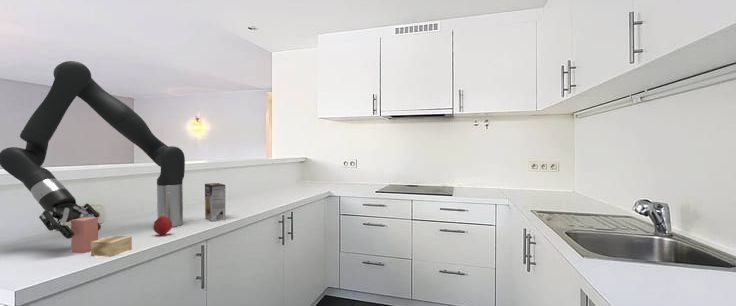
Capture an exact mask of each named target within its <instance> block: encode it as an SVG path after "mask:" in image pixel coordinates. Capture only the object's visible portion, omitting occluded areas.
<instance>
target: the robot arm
mask: <svg viewBox="0 0 736 306" xmlns="http://www.w3.org/2000/svg"><path fill="white" fill-rule="evenodd" d="M53 77H54V79H53V81H52V82H53V83H52V85H51V88H50V90H49V91H48V93H47V95H46V96H45V97H44V99H43V101H41V103H40V104H39V106H38V107H37V108H36V110H35V111H34V112H33V113H32V114H31V116H30V117H29V119H28V120H27V122H26V124H25V125H24V127H23V129H22V130H21V131H20V134H19V137H20V139H21V140H23V141H24V142H26V144H25V148H21V147H15V146H10V147H6V148H4V149H2V150H1V151H0V167H1V168H2V169H3V170H4V171H6V172H7V173H8V174H9V175H11V176H12V177H14V178H15V179H17V180H18V181H20V183H22V184H23V185H24V186H25V187H26V189H27V190H28V191H29V193H31V195H32V196H33V198H34V200H35V201H36V202H37V203H38V204H39V205H40V206H41V208H42V209H43V212H42V213H41V214H40V215H39V217H38V218H39V219H40V220H41V222H42V223H43V224H44V226H45V227H46V229H47V230H48V231H50V232H51V231H52V232H53V230H56V231H58V232H59V233H60V234H61V235H62V236H63V237H64V238H65V239H67V240H69V239H70V240H71V238H72V237H73V236H74V232H73V231H72V230H71V227H69V226H68V224H67V223H69V222H70V223H71V220H75V219H80V218H84V217H95V218H98V219H99V217H100V214H99V213H98V212H97V211H96V210H95V208H94V207H92V206H91V205H90V204H89V203H85V204H84V205H82V206H80V205H78V204H77V201H76V198H75V196H73V195H72V193H71V192H70V191H69V190H68V189H67V188H66V186H65V185H64V184H63V183H62V182H60V181H59V179H57V177H56V176H55V175H54V174H53V173H52V172H51V171H50V170H48V169H47V168H45V167H43V166H42V165H43V164H44V163H45V160H46V157H47V153H48V152H47V151H48V148H49V142H50V141H51V139H52V137H53V136H54V134H55V132H56V131H57V129H58V128H59V125H60V123H61V121H62V120H63V118H64V116H65V115H66V113H67V111H68V109H69V107H70V106H71V104H72V103H73V101H74V100H75V99H76V98H77V97H78V98H79V99H80V100H82V101H83V102H85V103H86V104H87V105H88V106H89V107H90V108H91V109H92V110H93V111H94V112H95V113H96V114H97V115H98V116H100V117H101V118H102V120H104V121H105V122H106V123H108V124H109V126H111V127H112V128H113V129H114V130H116V132H117V133H119V134H121V135H122V136H123V137H124V138H126V139H127V140H128V141H130V143H133V144H134V145H135V146H137V147H138V148H139V149H140V150H142V151H143V152H144V154H146V155H147V156H148V157H149V158H150V159H151V160H152V162H153V163H155V164H156V165H157V166H159V167H160V174H159V176H158V177H157V178H156V198H157V203H156V207H157V210H156V211H157V212H156V213H157V215H156V217H157V219H158V218H159V217H160V216H161V215H162V214H165V217H167V218H169V219H170V221H171V222H172V228H173V227H179V226H182V225H183V224H184V199H183V198H184V196H183V195H184V192H183V190H184V187H183V183H184V182H183V180H184V177H185V168H186V167H185V165H186V164H185V161H186V160H185V159H186V158H185V154H184V152H183V150H182V149H181V148H180V147H178V146H174V145H173V146H171V145H170V146H168V145H167V144H165V143H164V142H163V141H161V140H160V139H158V138H157V136H156V135H154V133H153V132H152V130H151V129H150V127H149V126H148V124H147V123H146V122H145V120H144V119H143V118H142V117H141V116H140V115H139V114H138V113H136V112H135V111H134V110H133V109H132V108H131V107H130V106H128V105H127V104H126V103H124V102H122V101H121V100H120V99H118V98H117V97H115V96H114V95H112V94H111V93H109V92H107V91H106V90H105V89H103V87H101V85H99V84H98V83H97V82H96V81H95V80H94V79H93V77H92V73H91V71H90V69H89V67H87V66H86V65H85V64H84V63H82V62H79V61H75V60H67V61H63V62H60V63H59V64H57V65H56V66H55V68H54V70H53ZM157 219H156V220H157ZM66 224H67V225H66ZM101 228H102V225H101V224H100V223H99V222H98V232H99V231H100V230H101Z"/></svg>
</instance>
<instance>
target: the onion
mask: <svg viewBox="0 0 736 306" xmlns="http://www.w3.org/2000/svg"><path fill="white" fill-rule="evenodd" d="M172 228H173V227H172V222H171V221H170V219H169V218H167V217H165V214H162V215H161V216H160V217H159V218H158V219H156V220H155V221H154V223H153V230H154V232H155V233H156V234H158V235H160V236H166V235H167V233H169V232H170V231H171V229H172Z"/></svg>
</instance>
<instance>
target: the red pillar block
mask: <svg viewBox="0 0 736 306" xmlns="http://www.w3.org/2000/svg"><path fill="white" fill-rule="evenodd" d="M98 223H99V217H98V218H95V217H84V218H80V219H75V220H71V221H70V229H71V230H72V231H73V232H74V236H73V237H72V238H70V241H71V246H70V247H71V253H73V254H74V253H75V254H76V253H77V254H86V253H89V252H91V242H92V241H96V240H99V231H98Z"/></svg>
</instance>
